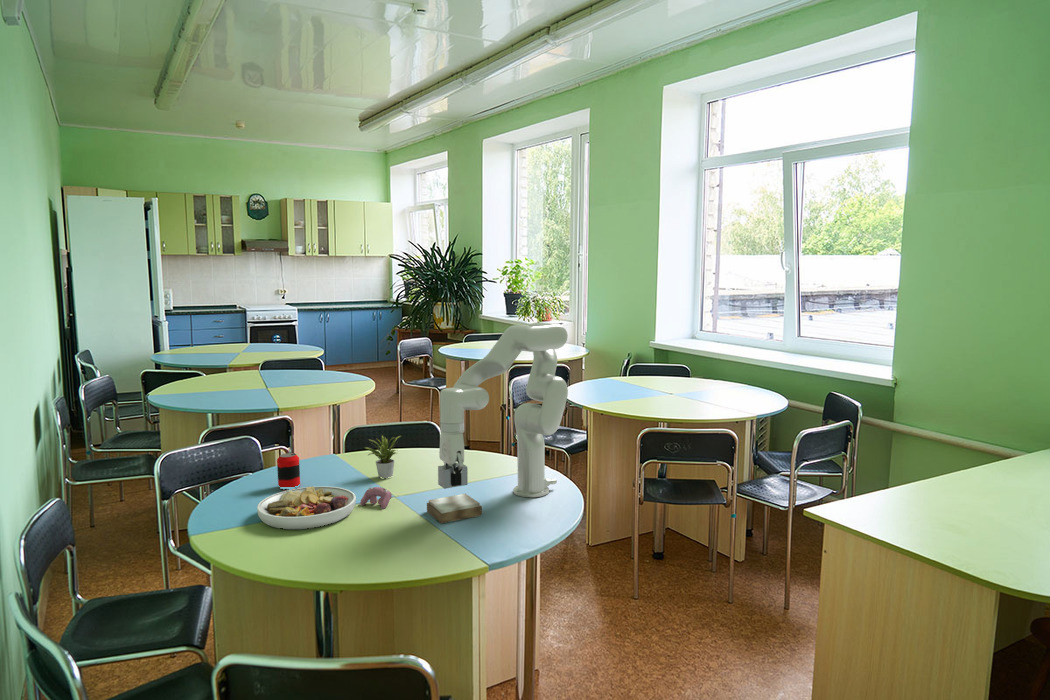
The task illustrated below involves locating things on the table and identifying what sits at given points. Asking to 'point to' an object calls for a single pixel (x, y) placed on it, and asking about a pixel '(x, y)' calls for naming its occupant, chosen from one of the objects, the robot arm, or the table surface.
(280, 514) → the bowl
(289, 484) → the soda can
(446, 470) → the block
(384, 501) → the video game controller
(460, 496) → the stand
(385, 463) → the house plant
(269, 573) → the table surface
